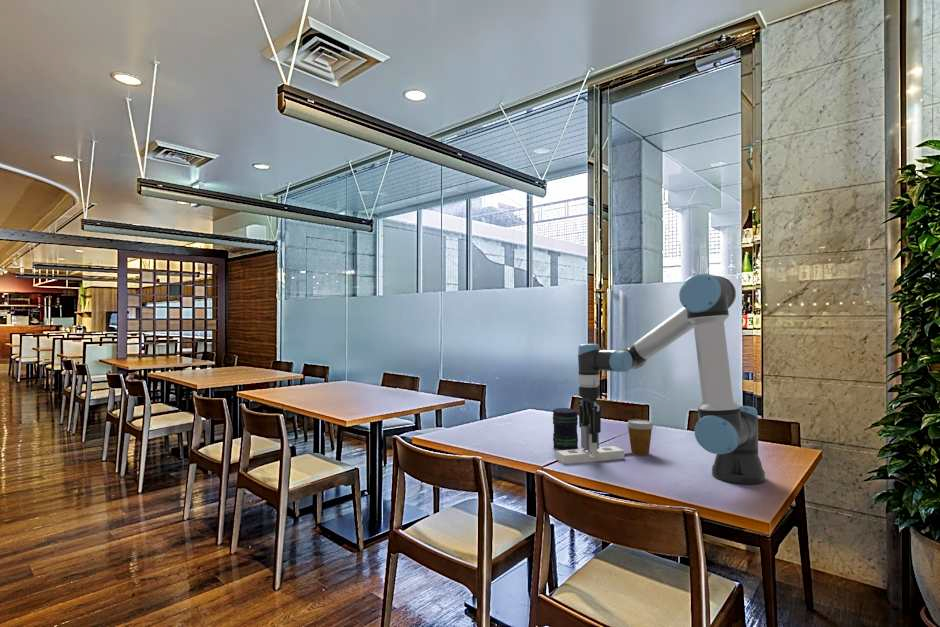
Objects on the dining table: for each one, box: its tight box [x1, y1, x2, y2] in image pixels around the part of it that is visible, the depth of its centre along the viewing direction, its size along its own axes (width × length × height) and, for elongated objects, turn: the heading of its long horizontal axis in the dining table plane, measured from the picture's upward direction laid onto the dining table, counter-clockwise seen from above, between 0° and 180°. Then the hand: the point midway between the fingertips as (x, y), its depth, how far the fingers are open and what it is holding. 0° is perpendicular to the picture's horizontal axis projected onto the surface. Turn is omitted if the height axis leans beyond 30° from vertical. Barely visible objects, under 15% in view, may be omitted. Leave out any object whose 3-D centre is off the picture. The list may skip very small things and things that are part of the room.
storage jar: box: [552, 407, 579, 451], centre depth 206 cm, size 10×10×15 cm
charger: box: [580, 424, 600, 454], centre depth 189 cm, size 4×5×10 cm
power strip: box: [555, 445, 635, 465], centre depth 189 cm, size 7×30×3 cm, turn 106°
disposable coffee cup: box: [626, 419, 654, 456], centre depth 196 cm, size 10×10×12 cm
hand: (590, 449), depth 189 cm, fingers closed on charger, 4 cm apart
